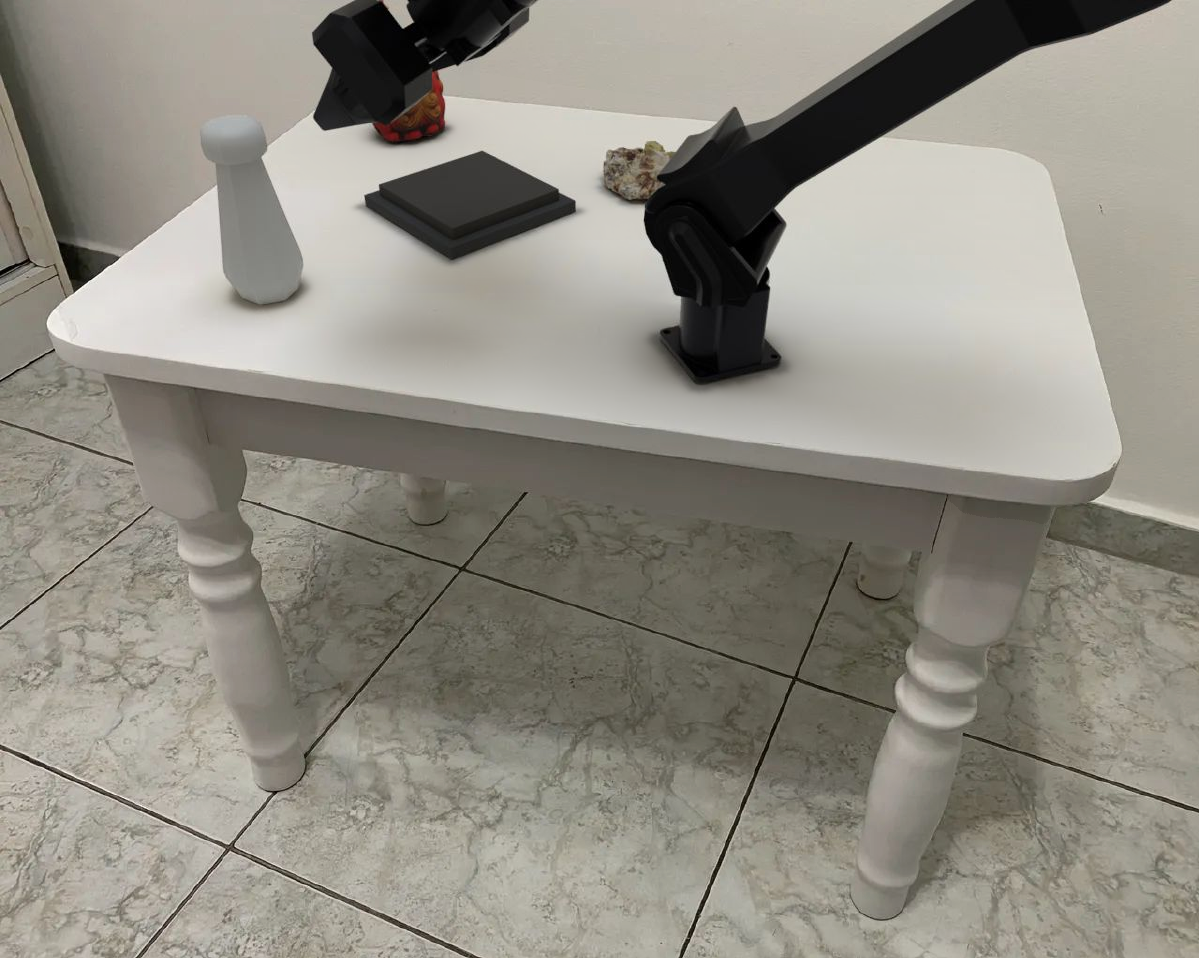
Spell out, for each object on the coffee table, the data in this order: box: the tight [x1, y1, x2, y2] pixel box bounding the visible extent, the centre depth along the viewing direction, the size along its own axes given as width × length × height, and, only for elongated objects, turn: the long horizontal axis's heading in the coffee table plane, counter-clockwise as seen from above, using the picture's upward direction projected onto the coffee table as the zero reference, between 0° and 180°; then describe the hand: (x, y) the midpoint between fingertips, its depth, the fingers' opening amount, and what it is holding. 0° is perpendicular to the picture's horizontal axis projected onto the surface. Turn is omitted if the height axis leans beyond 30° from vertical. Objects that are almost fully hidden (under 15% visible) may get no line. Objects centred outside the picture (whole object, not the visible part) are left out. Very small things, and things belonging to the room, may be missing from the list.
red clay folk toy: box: [371, 0, 446, 143], centre depth 95 cm, size 8×7×15 cm
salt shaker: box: [199, 114, 304, 306], centre depth 72 cm, size 6×6×13 cm
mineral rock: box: [602, 140, 676, 201], centre depth 89 cm, size 11×4×8 cm
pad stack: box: [363, 150, 577, 260], centre depth 86 cm, size 13×13×2 cm
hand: (356, 99), depth 67 cm, fingers open, 9 cm apart
